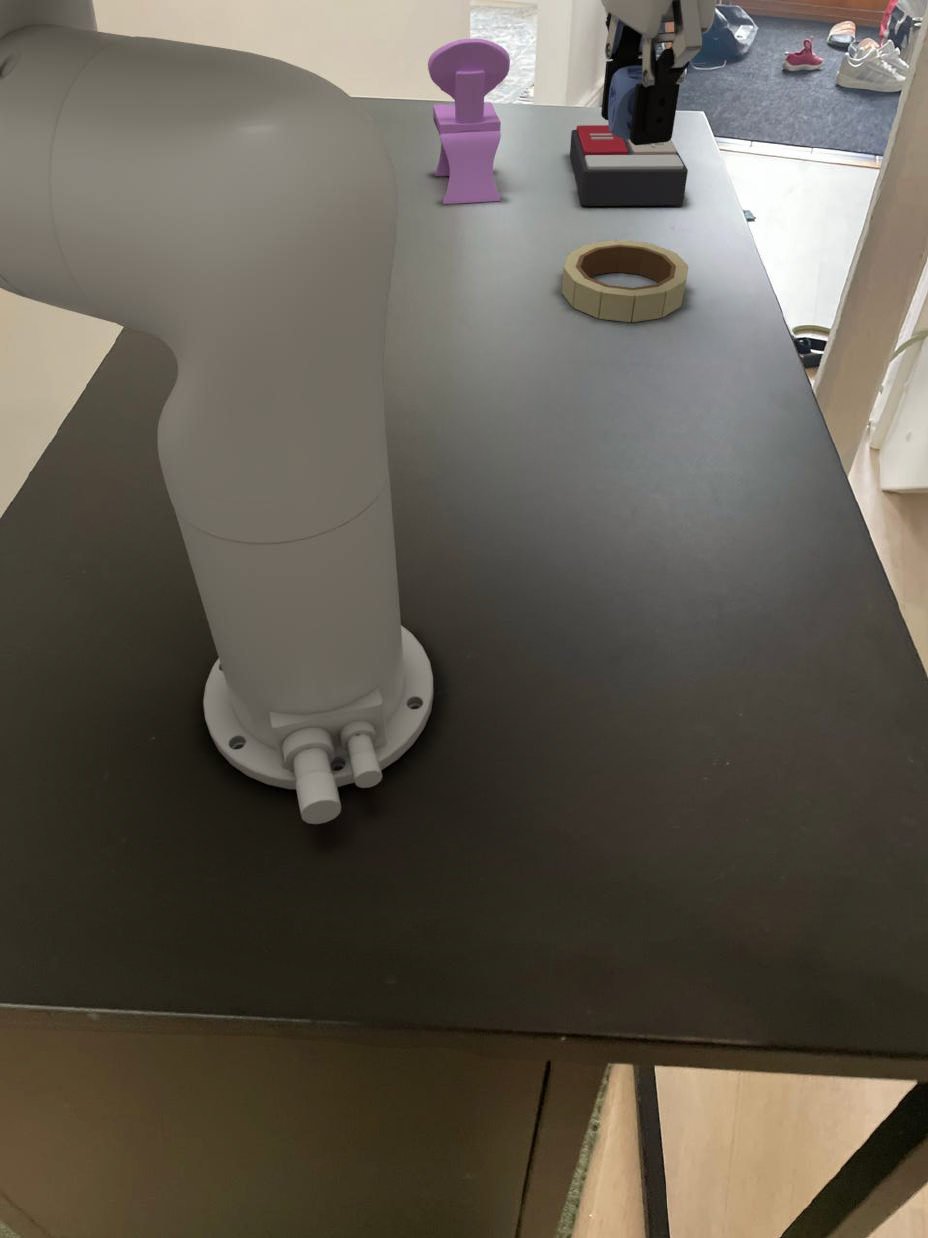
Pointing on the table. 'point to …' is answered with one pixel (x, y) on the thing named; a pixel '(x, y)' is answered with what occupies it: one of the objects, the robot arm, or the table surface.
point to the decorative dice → (623, 100)
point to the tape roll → (624, 300)
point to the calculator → (625, 170)
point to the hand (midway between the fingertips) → (635, 126)
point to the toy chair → (468, 117)
